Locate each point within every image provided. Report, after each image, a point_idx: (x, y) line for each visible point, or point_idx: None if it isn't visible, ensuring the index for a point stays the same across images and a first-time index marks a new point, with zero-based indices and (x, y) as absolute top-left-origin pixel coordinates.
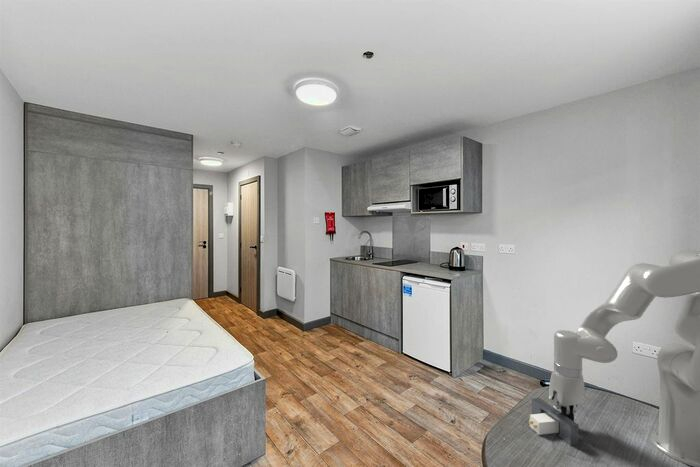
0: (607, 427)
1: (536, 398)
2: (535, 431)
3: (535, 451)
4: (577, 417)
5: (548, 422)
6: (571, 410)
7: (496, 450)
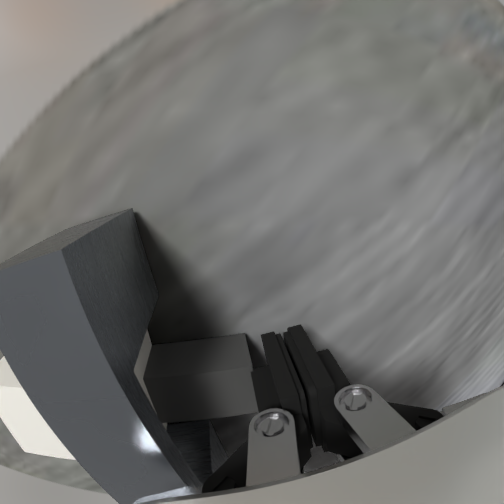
0: (477, 321)
1: (22, 271)
2: None
3: (24, 452)
4: (423, 244)
5: None
6: (340, 452)
7: None
